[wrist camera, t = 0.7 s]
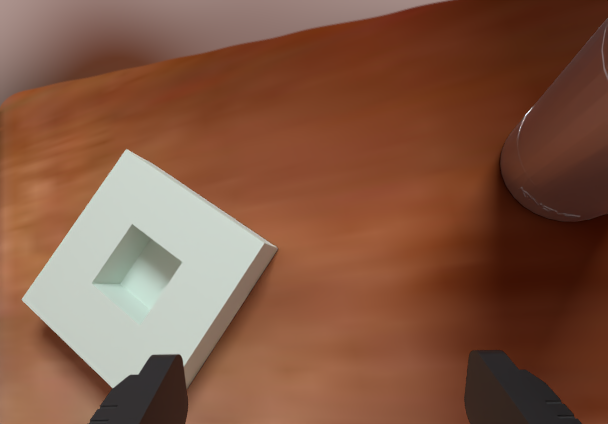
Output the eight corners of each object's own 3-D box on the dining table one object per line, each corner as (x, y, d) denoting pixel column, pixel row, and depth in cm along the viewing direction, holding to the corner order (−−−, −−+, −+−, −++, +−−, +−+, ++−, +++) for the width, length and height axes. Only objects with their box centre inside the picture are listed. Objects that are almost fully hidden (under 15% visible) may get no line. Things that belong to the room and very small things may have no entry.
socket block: (152, 163, 36) (126, 149, 33) (278, 248, 32) (264, 242, 28) (60, 298, 35) (21, 299, 32) (176, 405, 31) (147, 422, 27)
